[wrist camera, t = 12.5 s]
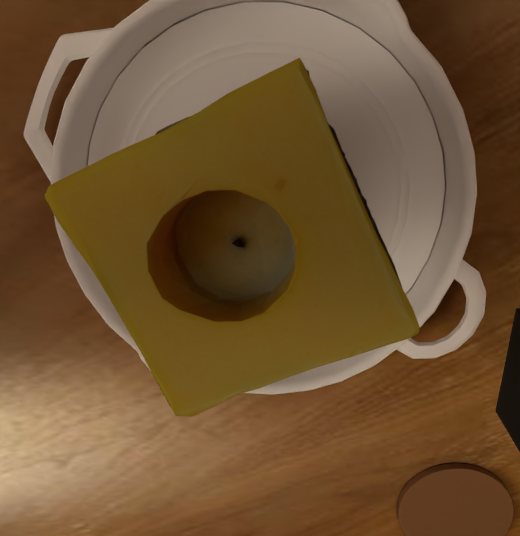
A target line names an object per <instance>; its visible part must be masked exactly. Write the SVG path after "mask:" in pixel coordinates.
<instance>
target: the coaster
mask: <svg viewBox="0 0 520 536" xmlns="http://www.w3.org/2000/svg"><path fill="white" fill-rule="evenodd" d="M397 514H398V519H399V523H400V527H401V529H402V531H403V533H404V534H405V535H406V536H505V535H506V533H507V532H508V530H509V528H510V526H511V524H512V521H513V516H514V506H513V501H512V498H511V496H510V494H509V492H508V490H507V488H506V487H505V485H504V484H503V483H502V481H501V480H500V479H499V478H497V477H496V476H495V475H494V474H492V473H491V472H489V471H487V470H485V469H483V468H480V467H478V466H474V465H470V464H463V463H450V464H442V465H438V466H434V467H431V468H429V469H426V470H424V471H422V472H421V473H419V474H417V475H416V476H415V477H413V478H412V479H411V480H410V481H409V482H408V483H407V484H406V486H405V487H404V488H403V490H402V492H401V494H400V496H399V499H398V504H397Z"/></svg>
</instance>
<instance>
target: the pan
mask: <svg viewBox="0 0 520 536" xmlns="http://www.w3.org/2000/svg"><path fill="white" fill-rule="evenodd" d="M87 57H89V59H88V60H87V61H86V63H85V65H84V67H83V69H82V70H81V72H80V74H79V76H78V78H77V80H76V82H75V84H74V85H73V87H72V89H71V91H70V93H69V95H68V97H67V99H66V100H65V103H64V106H63V110H62V114H61V118H60V122H59V125H58V129H57V133H56V137H55V140H54V144H53V146H52V144H51V142H50V140H49V138H48V136H47V134H46V132H45V129H44V127H45V123H46V119H47V115H48V111H49V107H50V104H51V101H52V98H53V95H54V92H55V90H56V88H57V86H58V83H59V81H60V79H61V77H62V75H63V73H64V71H65V69H66V68H67V66H68V64H69V62H70V61H72V60H77V59H82V58H87ZM298 58H300V59H301V61H302V62H303V64H304V66H305V68H306V69H307V70H308V71H309V76H310V79H311V81H312V83H313V85H314V87H315V89H316V92H317V95H318V98H319V100H320V103H321V106H322V109H323V111H324V114H325V117H326V120H327V123H328V124H329V125H331V126H332V127H333V128H334V130H335V133H336V135H337V138H338V140H339V143H340V145H341V148H342V151H343V152H344V153H345V158H346V159H347V161H348V164H349V165H350V167H351V169H352V171H353V174H354V176H355V177H356V179H357V183H358V185H359V188H360V189H361V193H362V195H363V197H364V198H365V199H366V200H367V206H368V208H369V210H370V212H371V215H372V218H373V219H374V221H375V223H376V225H377V229H378V231H379V234H380V235H381V237H382V239H383V241H384V243H385V245H386V248H387V250H388V253H389V255H390V256H391V259H392V261H393V263H394V265H395V268H396V271H397V274H398V277H399V280H400V283H401V285H402V288H403V291H404V293H405V295H406V296H407V298H408V300H409V302H410V304H411V306H412V308H413V311H414V314H415V316H416V319H417V321H418V324H419V327H421V326H422V325H423V324H424V323H425V322H426V320H427V319H428V318H429V317H430V316H431V315H432V314H433V313H434V312H435V311H436V309H437V307H438V305H439V304H440V302H441V300H442V299H443V297H444V295H445V294H446V292H447V290H448V289H449V287H450V285H451V284H452V282H453V280H454V279H455V280H456V281H458V282H459V283H460V284H461V285H462V287H463V290H464V293H465V295H466V308H465V314H464V316H463V317H462V319H461V321H460V323H459V325H458V326H457V327H456V328H455V329H454V330H453V331H452V332H451V333H450V334H448V335H447V336H446V337H443V338H441V339H438V340H436V341H434V342H416V341H414V340H413V339H411V338H409V339H406V340H403V341H399V342H396V343H393V344H390V345H386V346H383V347H380V348H377V349H374V350H371V351H368V352H365V353H362V354H359V355H356V356H353V357H350V358H346V359H343V360H340V361H336V362H333V363H330V364H327V365H323V366H320V367H317V368H314V369H311V370H308V371H305V372H303V373H300V374H297V375H294V376H291V377H288V378H285V379H283V380H280V381H277V382H275V383H272V384H270V385H267V386H264V387H262V388H259V389H256V390H252V391H248V392H245V393H256V394H282V393H291V392H300V391H309V390H313V389H316V388H320V387H323V386H327V385H330V384H334V383H338V382H341V381H343V380H345V379H347V378H350V377H352V376H354V375H356V374H358V373H360V372H362V371H364V370H366V369H368V368H371V367H373V366H375V365H376V364H377V363H379V362H380V361H381V360H383V359H384V358H385V357H387V356H388V355H389V354H391V353H392V352H393V351H395V350H398V351H400V352H402V353H404V354H405V355H407V356H409V357H411V358H412V359H421V358H437V357H439V356H442V355H444V354H447V353H449V352H452V351H454V350H456V349H458V348H459V347H460V346H461V345H462V344H463V343H464V342H465V341H467V340H468V339H469V338H470V337H471V336H472V335H473V334H474V333H475V331H476V329H477V327H478V325H479V323H480V321H481V319H482V318H483V316H484V312H485V301H486V290H485V287H484V284H483V282H482V279H481V276H480V273H479V272H478V271H477V270H476V269H474V268H473V267H472V266H470V265H469V264H468V263H467V262H465V261H464V260H463V256H464V253H465V251H466V248H467V245H468V242H469V240H470V237H471V234H472V227H473V220H474V212H475V205H476V197H477V182H476V166H475V152H474V148H473V145H472V141H471V137H470V134H469V130H468V126H467V122H466V119H465V115H464V111H463V109H462V107H461V105H460V103H459V101H458V99H457V97H456V95H455V93H454V91H453V89H452V87H451V84H450V82H449V80H448V78H447V76H446V74H445V72H444V70H443V68H442V66H441V65H440V64H439V63H438V62H437V60H436V59H435V58H434V57H433V56H432V55H431V53H430V52H429V51H428V50H427V49H426V47H425V46H424V45H423V44H422V43H421V41H420V40H419V39H418V38H417V37H416V35H415V34H414V33H413V32H412V30H411V29H410V26H409V23H408V19H407V16H406V14H405V12H404V11H403V9H402V7H401V5H400V3H399V1H398V0H149V1H148V2H147V3H145V4H144V5H143V6H141V7H140V8H139V9H137V10H136V11H135V12H133V13H132V14H131V15H129V16H128V17H127V18H125V19H124V20H123V21H121V22H120V23H119V24H118V25H116V26H115V28H107V29H100V30H93V31H85V32H78V33H70V34H64V35H62V36H60V37H59V39H58V41H57V43H56V45H55V47H54V49H53V51H52V54H51V56H50V58H49V60H48V62H47V64H46V67H45V69H44V72H43V74H42V76H41V79H40V81H39V84H38V86H37V89H36V92H35V95H34V99H33V102H32V105H31V108H30V111H29V115H28V119H27V122H26V126H25V129H24V138H25V140H26V142H27V143H28V145H29V147H30V148H31V150H32V152H33V153H34V155H35V157H36V158H37V160H38V162H39V163H40V165H41V167H42V169H43V170H44V172H45V174H46V175H47V177H48V179H49V180H50V182H51V185H52V184H54V183H55V182H57V181H59V180H61V179H63V178H65V177H67V176H69V175H71V174H73V173H75V172H77V171H79V170H81V169H83V168H85V167H87V166H89V165H92V164H94V163H96V162H98V161H100V160H101V159H103V158H105V157H107V156H109V155H111V154H113V153H115V152H117V151H120V150H122V149H124V148H126V147H128V146H131V145H133V144H135V143H138V142H140V141H142V140H145V139H147V138H149V137H151V136H154V135H155V134H156V133H157V131H159V130H161V129H163V128H164V127H166V126H169V125H171V124H173V123H175V122H178V121H180V120H182V119H185V118H187V117H190V116H192V115H194V114H196V113H198V112H200V111H201V110H203V109H204V108H206V107H207V106H209V105H211V104H212V103H214V102H215V101H217V100H218V99H220V98H221V97H223V96H225V95H226V94H228V93H230V92H232V91H234V90H236V89H238V88H240V87H242V86H244V85H246V84H248V83H250V82H252V81H254V80H256V79H258V78H259V77H261V76H263V75H265V74H267V73H269V72H271V71H273V70H275V69H278V68H280V67H282V66H284V65H286V64H288V63H290V62H292V61H294V60H296V59H298ZM54 218H55V225H56V229H57V232H58V235H59V238H60V242H61V245H62V248H63V251H64V254H65V257H66V260H67V262H68V264H69V266H70V268H71V270H72V272H73V273H74V275H75V277H76V279H77V281H78V283H79V285H80V287H81V289H82V291H83V292H84V294H85V296H86V297H87V298H88V299H89V301H90V302H91V303H92V305H93V306H94V307H95V309H96V310H97V311H98V313H99V314H100V315H101V317H102V318H103V319H104V320H105V322H106V323H107V324H108V326H109V327H111V328H112V329H113V330H114V331H115V332H116V333H117V334H118V335H119V336H121V337H122V338H123V339H124V340H125V341H126V342H127V343H128V344H130V345H131V346H132V347H133V348H134V349H135V350H136V351H137V352H138V354H139V356H140V358H141V360H142V361H143V362H144V364H145V365H146V366H147V367H148V365H147V363H146V361H145V359H144V357H143V355H142V353H141V351H140V350H139V348H138V346H137V345H136V343H135V341H134V340H133V338H132V336H131V335H130V333H129V331H128V330H127V328H126V326H125V325H124V323H123V321H122V319H121V318H120V316H119V314H118V312H117V311H116V309H115V307H114V306H113V304H112V302H111V300H110V299H109V297H108V295H107V294H106V292H105V290H104V289H103V287H102V286H101V284H100V282H99V281H98V279H97V277H96V276H95V274H94V273H93V271H92V269H91V268H90V267H89V265H88V264H87V262H86V261H85V260H84V258H83V257H82V256H81V254H80V253H79V251H78V250H77V249H76V247H75V246H74V244H73V243H72V241H71V240H70V239H69V237H68V236H67V234H66V233H65V231H64V230H63V228H62V227H61V225H60V224H59V223H58V221H57V219H56V217H55V215H54ZM148 368H149V367H148ZM149 370H150V369H149ZM150 371H151V370H150Z"/></svg>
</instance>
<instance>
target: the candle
mask: <svg viewBox="0 0 520 536" xmlns="http://www.w3.org/2000/svg"><path fill="white" fill-rule="evenodd" d="M44 197H45V199H46V201H47V203H48V204H49V206H50V208H51V210H52V212H53V214H54V215H55V217H56V219H57V221H58V223H59V224H60V225H61V227H62V228H63V230H64V231H65V233H66V234H67V236H68V237H69V239H70V240H71V241H72V243H73V244H74V246H75V247H76V249H77V250H78V251H79V253H80V254H81V256H82V257H83V258H84V260H85V261H86V262H87V264H88V265H89V267H90V268H91V269H92V271H93V273H94V274H95V276H96V277H97V279H98V281H99V282H100V284H101V286H102V287H103V289H104V290H105V292H106V294H107V295H108V297H109V299H110V300H111V302H112V304H113V306H114V307H115V309H116V311H117V312H118V314H119V316H120V318H121V319H122V321H123V323H124V325H125V326H126V328H127V330H128V331H129V333H130V335H131V336H132V338H133V340H134V341H135V343H136V345H137V346H138V348H139V350H140V351H141V353H142V355H143V357H144V359H145V361H146V363H147V365H148V367H149V369H150V370H151V372H152V374H153V376H154V378H155V380H156V382H157V383H158V385H159V387H160V389H161V391H162V392H163V394H164V396H165V398H166V400H167V401H168V403H169V405H170V406H171V408H172V410H173V411H174V413H175V415H177V416H194V415H197V414H199V413H201V412H203V411H205V410H207V409H209V408H211V407H213V406H215V405H217V404H219V403H221V402H223V401H225V400H227V399H229V398H231V397H233V396H235V395H238V394H241V393H245V392H248V391H252V390H256V389H259V388H262V387H264V386H267V385H270V384H272V383H275V382H277V381H280V380H283V379H285V378H288V377H291V376H294V375H297V374H300V373H303V372H305V371H308V370H311V369H314V368H317V367H320V366H323V365H327V364H330V363H333V362H336V361H340V360H343V359H346V358H350V357H353V356H356V355H359V354H362V353H365V352H368V351H371V350H374V349H377V348H380V347H383V346H386V345H390V344H393V343H396V342H399V341H403V340H406V339H409V338H411V337H413V336H415V335H416V334H418V333H419V331H420V327H419V324H418V321H417V319H416V316H415V314H414V311H413V308H412V306H411V304H410V302H409V300H408V298H407V296H406V295H405V293H404V291H403V288H402V285H401V283H400V280H399V277H398V274H397V271H396V268H395V265H394V263H393V261H392V259H391V256H390V255H389V253H388V250H387V248H386V245H385V243H384V241H383V239H382V237H381V235H380V234H379V231H378V229H377V225H376V223H375V221H374V219H373V218H372V215H371V212H370V210H369V208H368V206H367V200H366V199H365V198H364V197H363V195H362V193H361V189H360V188H359V185H358V183H357V179H356V177H355V176H354V174H353V171H352V169H351V167H350V165H349V164H348V161H347V159H346V158H345V153H344V152H343V151H342V148H341V145H340V143H339V140H338V138H337V135H336V133H335V130H334V128H333V127H332V126H331V125H329V124H328V123H327V120H326V117H325V114H324V111H323V109H322V106H321V103H320V100H319V98H318V95H317V92H316V89H315V87H314V85H313V83H312V81H311V79H310V76H309V71H308V70H307V69H306V68H305V66H304V64H303V62H302V61H301V59H300V58H298V59H296V60H294V61H292V62H290V63H288V64H286V65H284V66H282V67H280V68H278V69H275V70H273V71H271V72H269V73H267V74H265V75H263V76H261V77H259V78H258V79H256V80H254V81H252V82H250V83H248V84H246V85H244V86H242V87H240V88H238V89H236V90H234V91H232V92H230V93H228V94H226V95H225V96H223V97H221V98H220V99H218V100H217V101H215V102H214V103H212V104H211V105H209V106H207V107H206V108H204V109H203V110H201V111H200V112H198V113H196V114H194V115H192V116H190V117H187V118H185V119H182V120H180V121H178V122H175V123H173V124H171V125H169V126H166V127H164V128H163V129H161V130H159V131H157V133H156V134H155V135H154V136H151V137H149V138H147V139H145V140H142V141H140V142H138V143H135V144H133V145H131V146H128V147H126V148H124V149H122V150H120V151H117V152H115V153H113V154H111V155H109V156H107V157H105V158H103V159H101V160H100V161H98V162H96V163H94V164H92V165H89V166H87V167H85V168H83V169H81V170H79V171H77V172H75V173H73V174H71V175H69V176H67V177H65V178H63V179H61V180H59V181H57V182H55V183H54V184H52V185H50V186H49V187H48V189H47V192H46V194H45V196H44Z"/></svg>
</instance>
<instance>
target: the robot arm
mask: <svg viewBox="0 0 520 536" xmlns="http://www.w3.org/2000/svg"><path fill="white" fill-rule="evenodd" d="M496 413H497V414H498V416H499V418H500V419H501V421H502V423H503V424H504V426H505V428H506V429H507V431H508V433H509V435H510V436H511V438H512V440H513V441H514V443H515V445H516V446H517V448H518V450H519V451H520V309H517V308H516V312H515V317H514V322H513V327H512V332H511V337H510V342H509V347H508V352H507V357H506V362H505V367H504V372H503V377H502V382H501V387H500V392H499V397H498V402H497V407H496Z"/></svg>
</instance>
